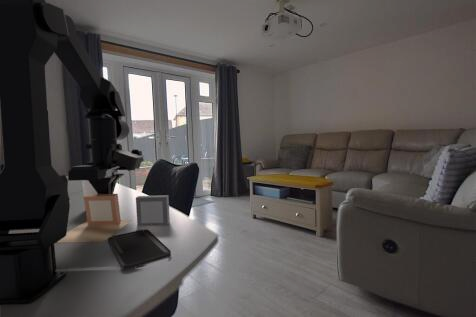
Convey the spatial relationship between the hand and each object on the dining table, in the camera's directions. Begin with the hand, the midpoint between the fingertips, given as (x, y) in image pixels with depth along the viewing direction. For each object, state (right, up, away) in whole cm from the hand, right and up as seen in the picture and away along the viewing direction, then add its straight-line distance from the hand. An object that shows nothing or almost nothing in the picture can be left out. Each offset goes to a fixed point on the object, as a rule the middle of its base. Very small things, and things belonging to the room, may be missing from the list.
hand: (107, 204), depth 60 cm
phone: (+13, -6, -14) cm, 20 cm away
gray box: (+12, -5, -2) cm, 13 cm away
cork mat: (0, -5, -5) cm, 7 cm away
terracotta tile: (0, -4, -2) cm, 5 cm away
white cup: (-9, -4, +13) cm, 16 cm away
